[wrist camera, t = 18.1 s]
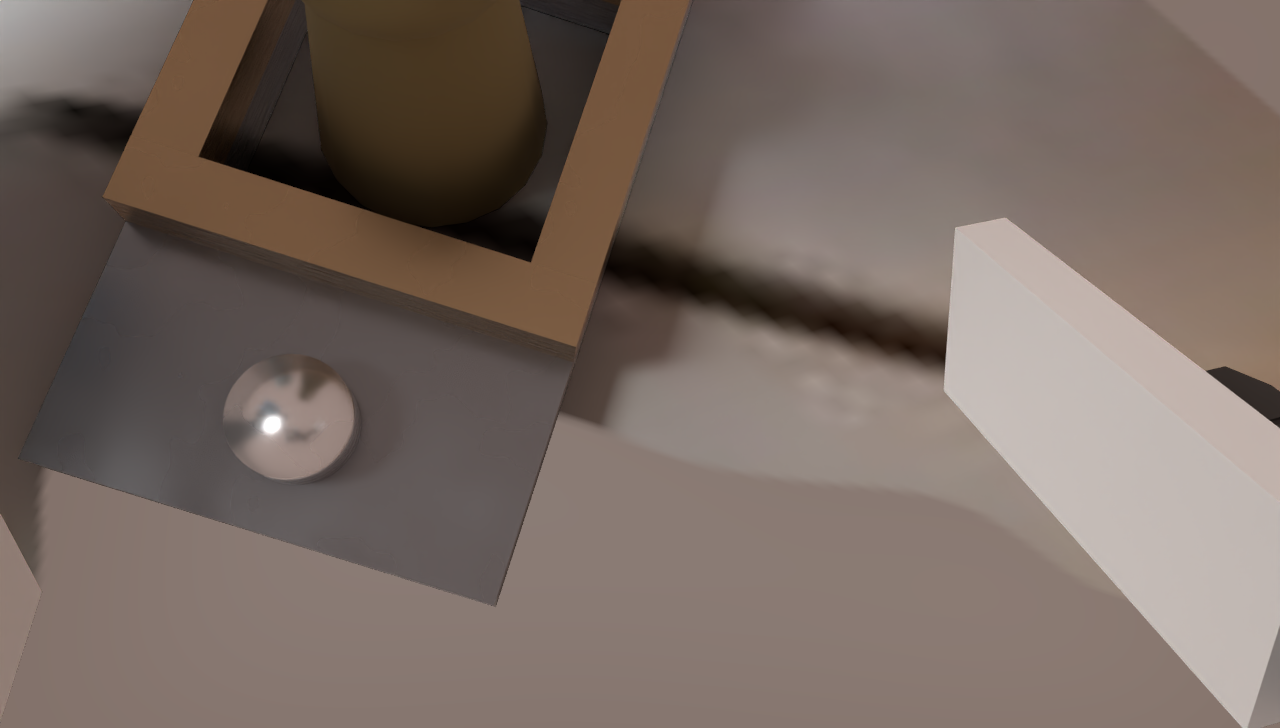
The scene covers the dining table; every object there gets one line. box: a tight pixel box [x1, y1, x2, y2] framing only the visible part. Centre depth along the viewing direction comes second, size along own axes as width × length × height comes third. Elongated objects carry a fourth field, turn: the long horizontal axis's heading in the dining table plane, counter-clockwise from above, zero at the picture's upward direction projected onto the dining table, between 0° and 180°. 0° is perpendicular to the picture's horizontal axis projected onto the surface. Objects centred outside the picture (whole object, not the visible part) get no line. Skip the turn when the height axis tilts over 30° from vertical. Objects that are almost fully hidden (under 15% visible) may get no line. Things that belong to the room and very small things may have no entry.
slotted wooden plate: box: [18, 0, 693, 607], centre depth 27 cm, size 23×11×4 cm, turn 163°
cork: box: [301, 0, 547, 227], centre depth 24 cm, size 6×6×11 cm
